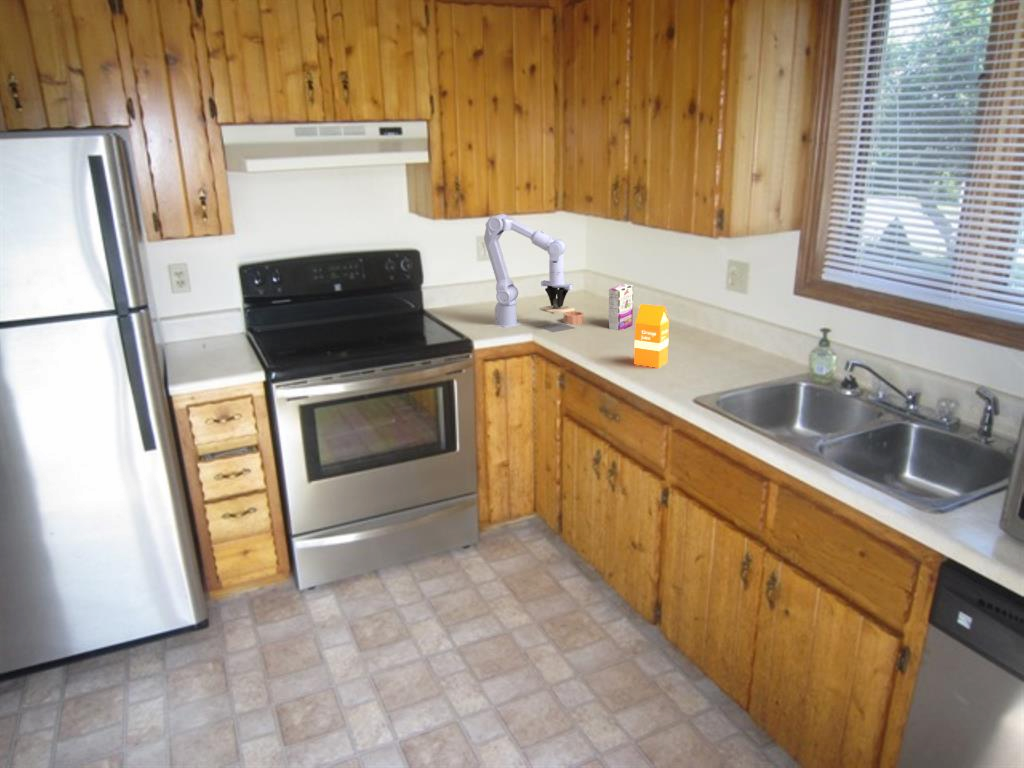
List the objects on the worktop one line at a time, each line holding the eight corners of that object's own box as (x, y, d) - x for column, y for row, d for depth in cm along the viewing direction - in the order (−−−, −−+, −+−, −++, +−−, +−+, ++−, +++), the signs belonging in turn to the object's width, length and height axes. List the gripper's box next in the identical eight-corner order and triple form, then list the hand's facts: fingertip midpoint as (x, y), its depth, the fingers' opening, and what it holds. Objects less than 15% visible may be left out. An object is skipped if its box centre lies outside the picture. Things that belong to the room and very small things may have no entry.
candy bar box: (621, 323, 299) (622, 283, 294) (632, 325, 296) (634, 284, 291) (607, 329, 291) (608, 288, 286) (618, 331, 288) (619, 289, 283)
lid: (539, 309, 294) (539, 298, 293) (560, 306, 299) (560, 295, 298) (553, 314, 286) (553, 303, 285) (574, 310, 291) (574, 299, 289)
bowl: (560, 322, 304) (560, 313, 302) (575, 319, 308) (576, 310, 306) (571, 326, 297) (571, 316, 296) (587, 323, 301) (587, 314, 300)
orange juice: (643, 358, 253) (645, 301, 247) (667, 362, 249) (670, 304, 242) (633, 364, 247) (635, 306, 241) (658, 368, 243) (661, 309, 236)
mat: (537, 327, 297) (537, 326, 296) (560, 323, 302) (560, 322, 302) (553, 333, 288) (553, 332, 288) (576, 328, 293) (576, 327, 293)
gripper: (577, 272, 286) (577, 306, 290) (549, 268, 295) (549, 301, 299) (566, 274, 281) (566, 309, 285) (537, 270, 290) (537, 304, 295)
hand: (556, 306), depth 292 cm, fingers closed on lid, 3 cm apart
